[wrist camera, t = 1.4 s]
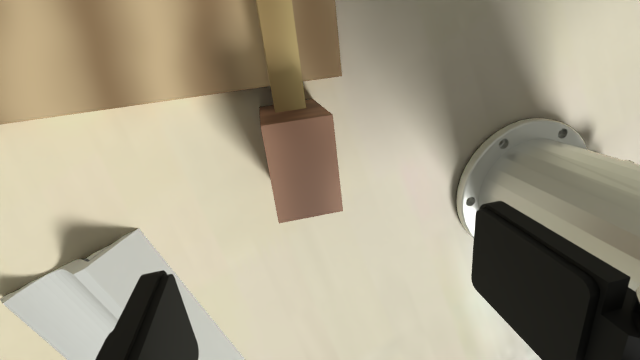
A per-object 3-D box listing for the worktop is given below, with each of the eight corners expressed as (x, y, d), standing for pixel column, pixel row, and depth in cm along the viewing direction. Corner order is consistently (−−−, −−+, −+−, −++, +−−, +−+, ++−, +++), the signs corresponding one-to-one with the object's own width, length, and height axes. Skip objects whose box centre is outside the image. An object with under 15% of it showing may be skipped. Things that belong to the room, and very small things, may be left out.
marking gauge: (293, -51, 21) (310, -96, 15) (322, 173, 27) (342, 210, 21) (231, -45, 21) (219, -89, 14) (273, 182, 27) (278, 223, 20)
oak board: (324, -54, 22) (329, -62, 20) (337, 74, 24) (341, 75, 23) (-176, -8, 18) (-211, -13, 17) (-91, 135, 21) (-115, 140, 20)
